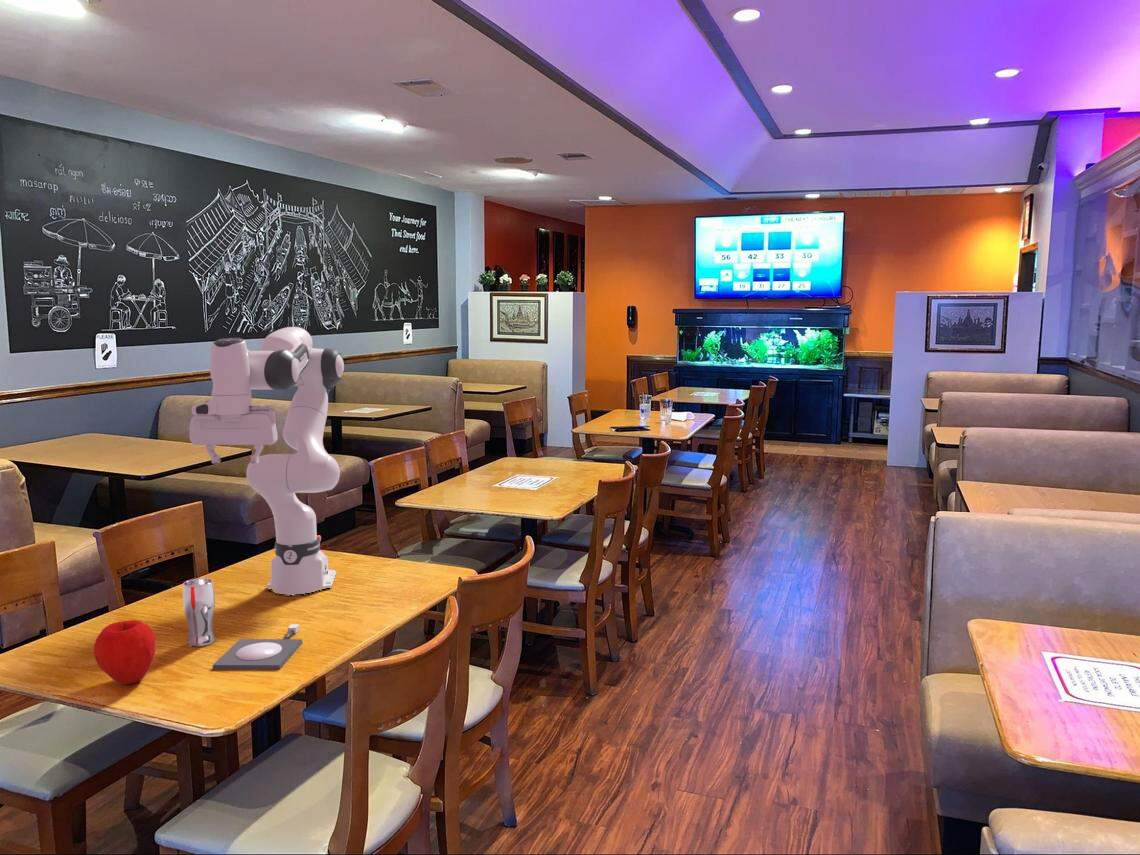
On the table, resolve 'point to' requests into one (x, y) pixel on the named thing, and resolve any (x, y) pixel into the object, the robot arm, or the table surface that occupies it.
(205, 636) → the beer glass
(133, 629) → the apple
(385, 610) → the table surface
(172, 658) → the table surface
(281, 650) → the charging dock
